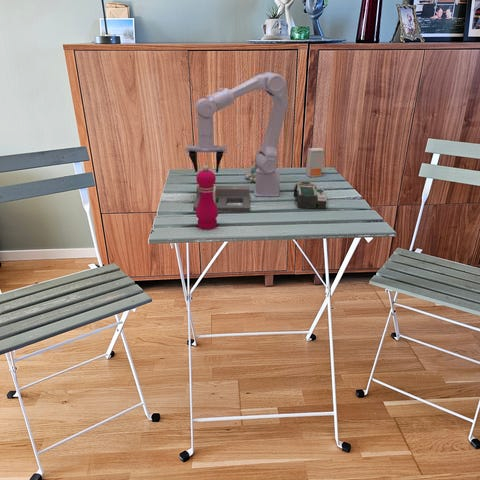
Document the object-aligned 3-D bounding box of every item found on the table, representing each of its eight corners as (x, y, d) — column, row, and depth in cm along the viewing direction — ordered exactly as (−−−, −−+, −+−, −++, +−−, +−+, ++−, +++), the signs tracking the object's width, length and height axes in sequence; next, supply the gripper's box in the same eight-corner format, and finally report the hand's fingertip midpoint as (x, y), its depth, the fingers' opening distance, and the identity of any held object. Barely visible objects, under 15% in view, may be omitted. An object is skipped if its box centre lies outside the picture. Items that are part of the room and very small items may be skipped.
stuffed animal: (239, 170, 169) (248, 157, 178) (240, 185, 173) (249, 172, 182) (264, 173, 166) (272, 160, 175) (264, 188, 170) (272, 175, 179)
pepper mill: (201, 231, 127) (199, 170, 118) (192, 223, 133) (190, 164, 124) (222, 227, 130) (221, 167, 121) (212, 219, 136) (211, 161, 127)
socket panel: (249, 195, 156) (249, 185, 155) (249, 211, 142) (250, 200, 140) (197, 195, 157) (197, 184, 155) (193, 211, 142) (192, 199, 140)
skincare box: (308, 177, 178) (311, 150, 173) (305, 174, 182) (307, 148, 176) (321, 176, 179) (324, 149, 174) (317, 173, 183) (320, 147, 178)
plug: (215, 202, 150) (215, 184, 147) (215, 207, 145) (214, 189, 142) (205, 202, 150) (204, 184, 147) (203, 207, 145) (203, 189, 142)
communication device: (320, 189, 166) (323, 168, 162) (327, 210, 145) (329, 187, 141) (291, 188, 167) (293, 167, 163) (293, 209, 145) (295, 185, 141)
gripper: (183, 136, 140) (185, 174, 146) (225, 137, 139) (225, 175, 146) (186, 132, 146) (188, 168, 152) (226, 132, 146) (226, 169, 152)
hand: (206, 171), depth 149 cm, fingers open, 7 cm apart
